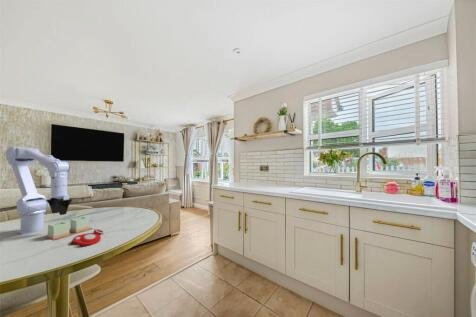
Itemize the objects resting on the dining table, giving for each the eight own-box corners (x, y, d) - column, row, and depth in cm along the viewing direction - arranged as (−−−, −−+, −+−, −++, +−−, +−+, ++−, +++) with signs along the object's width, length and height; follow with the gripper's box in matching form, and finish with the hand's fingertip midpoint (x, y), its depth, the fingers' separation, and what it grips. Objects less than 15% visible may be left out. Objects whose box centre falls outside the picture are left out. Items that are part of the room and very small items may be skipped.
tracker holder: (100, 241, 75) (69, 241, 70) (97, 251, 75) (66, 252, 71) (106, 226, 86) (79, 225, 81) (103, 235, 86) (77, 234, 81)
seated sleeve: (70, 230, 88) (70, 219, 89) (83, 227, 94) (83, 216, 94) (76, 232, 86) (76, 220, 86) (90, 228, 91) (89, 217, 91)
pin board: (43, 239, 81) (43, 229, 82) (83, 228, 95) (83, 219, 95) (53, 242, 77) (53, 232, 77) (94, 230, 91) (94, 221, 91)
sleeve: (47, 237, 81) (47, 224, 81) (63, 232, 86) (63, 221, 86) (53, 239, 79) (53, 226, 79) (69, 234, 84) (69, 222, 84)
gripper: (41, 186, 89) (41, 214, 88) (55, 187, 83) (55, 217, 82) (60, 184, 95) (60, 210, 95) (74, 185, 89) (74, 213, 89)
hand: (59, 213), depth 89 cm, fingers open, 7 cm apart
